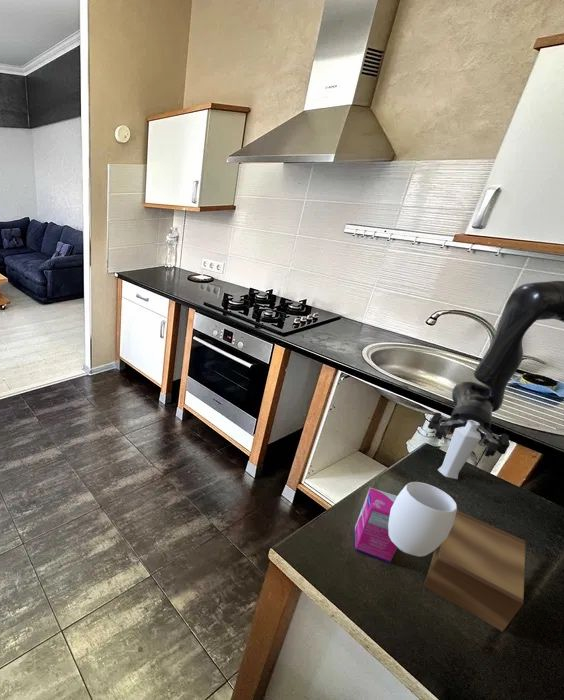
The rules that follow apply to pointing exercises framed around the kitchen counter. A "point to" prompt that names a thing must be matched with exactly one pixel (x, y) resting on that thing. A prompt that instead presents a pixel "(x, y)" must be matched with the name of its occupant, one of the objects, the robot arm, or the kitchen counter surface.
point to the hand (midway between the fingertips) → (463, 444)
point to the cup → (421, 518)
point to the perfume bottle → (460, 449)
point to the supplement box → (375, 526)
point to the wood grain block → (480, 570)
